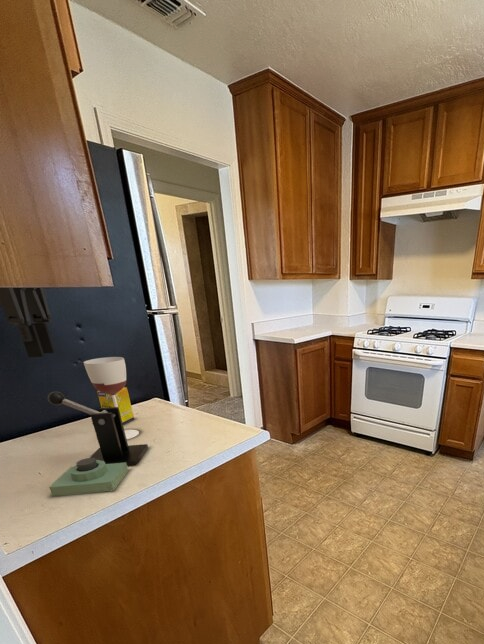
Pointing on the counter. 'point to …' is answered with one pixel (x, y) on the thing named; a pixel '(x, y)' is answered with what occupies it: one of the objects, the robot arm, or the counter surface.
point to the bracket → (114, 439)
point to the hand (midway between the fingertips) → (42, 354)
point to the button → (86, 464)
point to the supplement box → (122, 403)
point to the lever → (70, 403)
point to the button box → (89, 479)
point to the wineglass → (109, 379)
